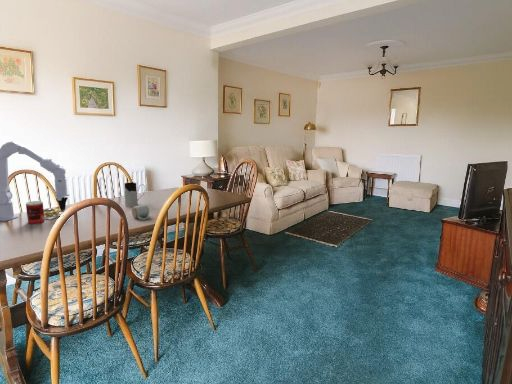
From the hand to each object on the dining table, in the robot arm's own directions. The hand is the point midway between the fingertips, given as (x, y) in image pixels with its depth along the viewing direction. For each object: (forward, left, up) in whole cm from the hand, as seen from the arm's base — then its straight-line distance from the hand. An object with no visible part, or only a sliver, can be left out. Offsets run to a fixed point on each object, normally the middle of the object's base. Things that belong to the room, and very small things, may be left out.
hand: (62, 209), depth 191 cm
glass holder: (+26, +35, -3) cm, 44 cm away
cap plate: (-6, -4, -3) cm, 8 cm away
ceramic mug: (+46, +8, -3) cm, 47 cm away
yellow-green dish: (-5, -3, -2) cm, 6 cm away
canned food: (-3, -16, -3) cm, 17 cm away
